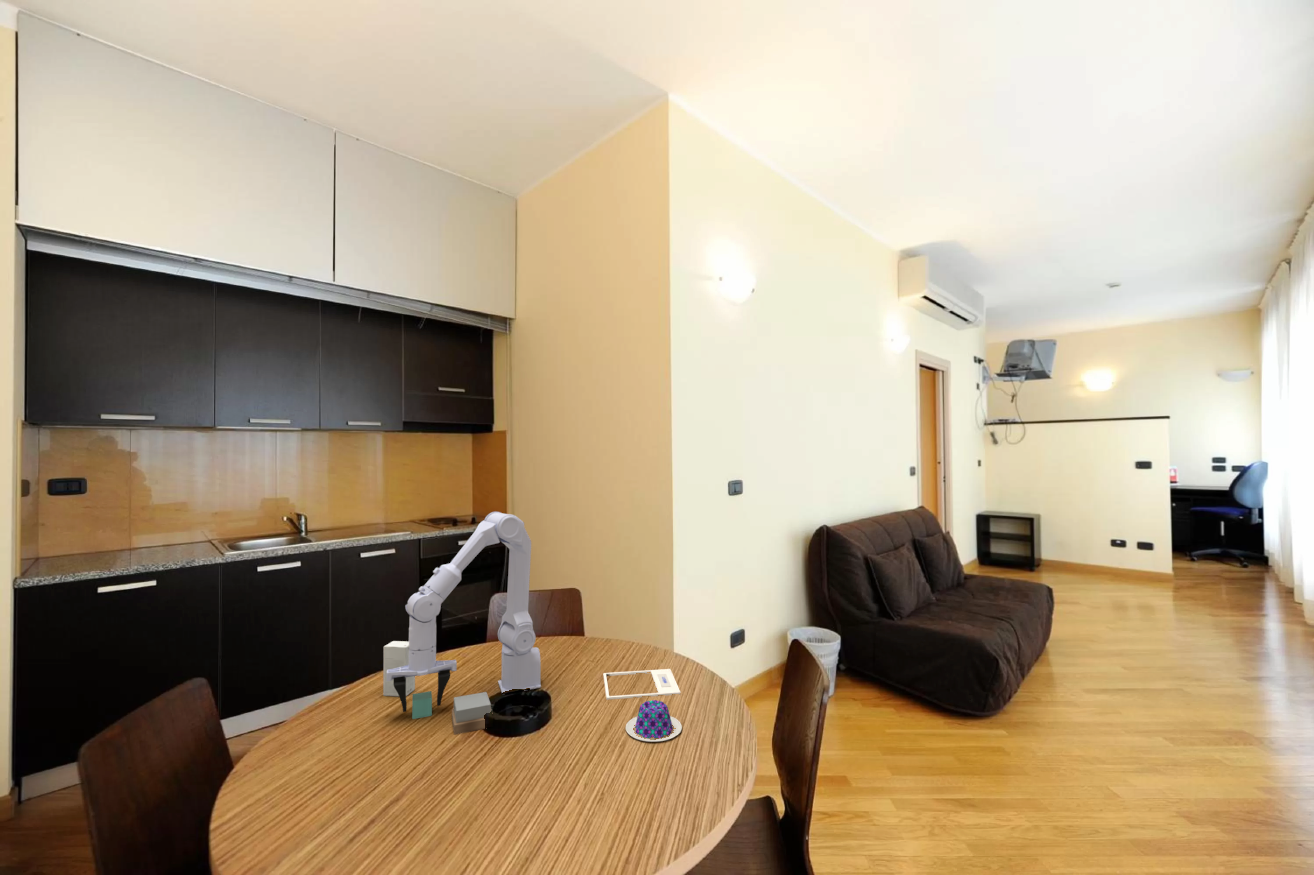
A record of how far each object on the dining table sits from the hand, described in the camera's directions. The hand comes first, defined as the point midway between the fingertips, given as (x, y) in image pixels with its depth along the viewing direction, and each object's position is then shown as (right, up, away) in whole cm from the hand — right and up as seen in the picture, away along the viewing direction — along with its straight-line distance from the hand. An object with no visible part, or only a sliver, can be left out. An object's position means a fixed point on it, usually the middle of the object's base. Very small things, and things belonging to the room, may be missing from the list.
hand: (422, 706), depth 124 cm
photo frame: (+49, -2, +15) cm, 51 cm away
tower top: (+13, +1, -4) cm, 13 cm away
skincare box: (-10, -2, +11) cm, 15 cm away
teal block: (0, -2, 0) cm, 2 cm away
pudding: (+53, -2, -7) cm, 53 cm away
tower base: (+13, -2, -4) cm, 14 cm away
